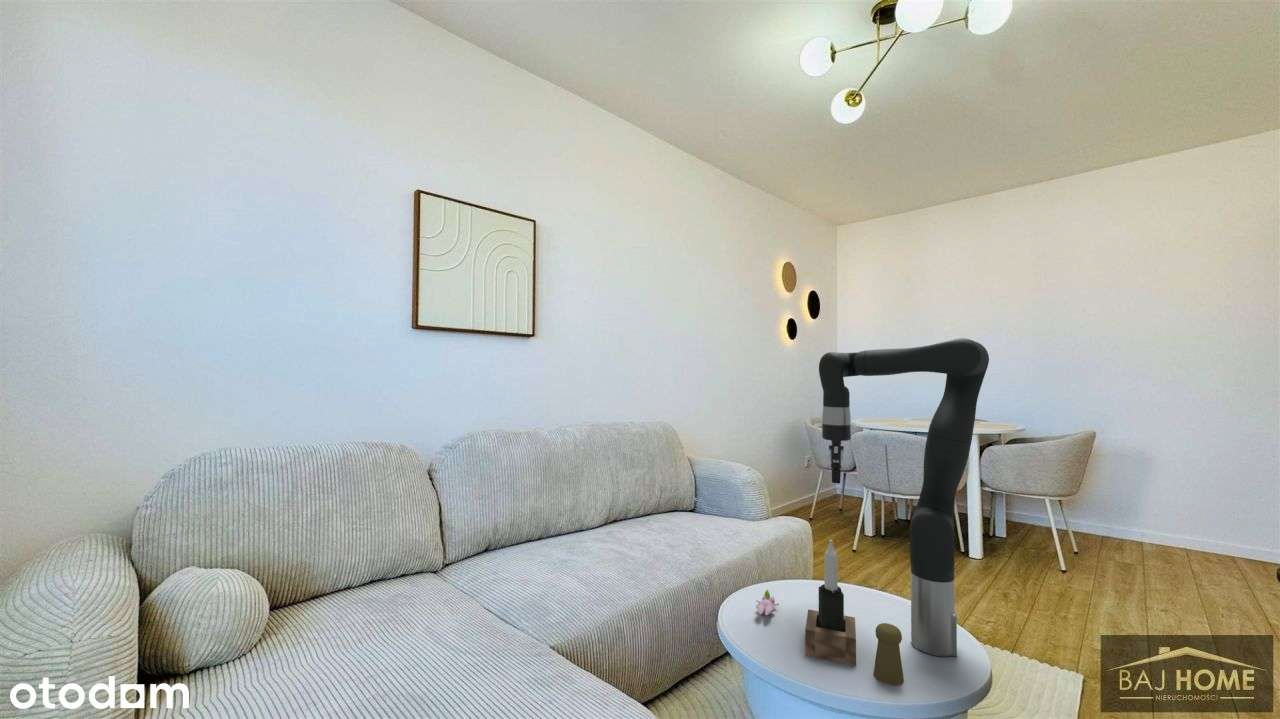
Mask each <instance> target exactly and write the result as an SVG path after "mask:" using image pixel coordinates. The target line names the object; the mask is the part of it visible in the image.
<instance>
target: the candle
mask: <svg viewBox="0 0 1280 719" xmlns="http://www.w3.org/2000/svg"><path fill="white" fill-rule="evenodd" d="M828 542H829V543H828V545H827V549H826V550H825V551H824V584H822V585H820V586H819V587H818V611H819V628H824V629H830V630H835V631H841V632H844V616H845V609H844V607H845V606H844V605H845V604H844V602H845V594H844V592H843V590H842V588H841V587H840V586H838V553H837V552H836V549H835V547H834V540H833V539H829V540H828Z"/></svg>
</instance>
